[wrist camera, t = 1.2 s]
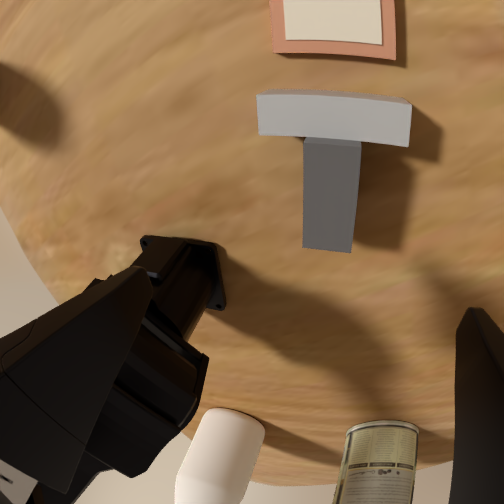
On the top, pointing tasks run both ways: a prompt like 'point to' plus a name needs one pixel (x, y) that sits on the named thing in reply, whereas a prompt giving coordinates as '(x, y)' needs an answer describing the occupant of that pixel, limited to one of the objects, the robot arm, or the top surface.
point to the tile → (334, 27)
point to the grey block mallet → (332, 150)
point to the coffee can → (378, 464)
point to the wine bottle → (219, 459)
